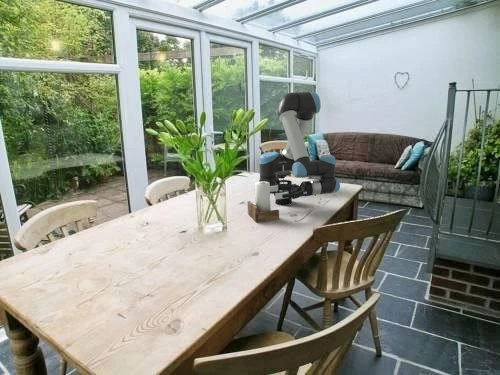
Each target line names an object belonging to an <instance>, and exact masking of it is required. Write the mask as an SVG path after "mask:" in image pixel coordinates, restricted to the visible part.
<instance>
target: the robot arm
mask: <svg viewBox="0 0 500 375" xmlns="http://www.w3.org/2000/svg"><path fill="white" fill-rule="evenodd" d="M320 110H321V99H320V96H319V94H318V93H317V92H315V91H302V92H301V91H300V92H299V91H297V92H287V93H286V94H285V95H283V96H282V98H281V99H280V100H279V102H278V106H277V116H278V119H279V122H282V126H283V129H284V132H285V135H286V139H287V141H286V142H287V143H286V147H284V148H283V149H282V152H281V153H279V152H277V151H269V152H263V153H262V154H260V155H259V161H258V164H259V180H258V182H262V181H265V182H269V183H270V194H272V193H273V194H274V191H279V190H282V191H289V192H284V193H276V194H275V196H274V200H275V199H284V198H292V200H295V199H298V198H300V197H301V198H302V197H310V196H314V197H316V196H317V195H325V194H334V193H337V192H338V191H340V188H341V182H340V180H339V178H337V177H336V157H335V156H334V155H332V154H331V155H330V154H324V155H320V156H319V159H318V160H311V159H310V155H309V153H308V149H307V147H306V144H305V141H304V140H305V135H306V131H307V128H308V125H309V122H310V121H311V120H313V118H314V115H317V114H318V113H320ZM279 162H287V163H284V171H287V172H291V173H292V175H293V176H294V177H295V178H296V179H298V178H299V179H300V178H301V179H303V178H304V179H305V178H309V177H310V178H311V177H317V176H319V179H311V180H306V181H304V180H303V181H301V182H300V185H299V184H297V183H292V184H287V183H284V184H283V183H281V182H280V183H279V184H277V186H274V181H275V180H277V181H278V180H280V178H276V174H275V173H276V172H280V171H283V166H282V163H279Z"/></svg>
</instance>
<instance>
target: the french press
mask: <svg viewBox="0 0 500 375" xmlns="http://www.w3.org/2000/svg"><path fill="white" fill-rule="evenodd" d="M279 163H282V166H283V171H280V172H276V173H275V174H276V178H279V180H278V181H277V180H275V181H274V186H277V184H279V183H280V184H281V183H282V184H285V183H286V184H293V181H292V180H289V179H288V180H287V179H285V178H286V177H287V176H288V177H291V176H292V175H293V172H292V171H290V172H287V171H284V163H287V162H279ZM284 192H289V191H282V190H279V191H274V193H273V196H274V197H275V194H276V193H284ZM274 203H275V204H276V205H277V206H289V205H290V206H291V205H292V204H293V199H292V198H284V199H275V198H274Z"/></svg>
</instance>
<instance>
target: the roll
mask: <svg viewBox="0 0 500 375" xmlns="http://www.w3.org/2000/svg"><path fill="white" fill-rule="evenodd" d="M254 195H255V205H256V207H257V208H258V212H264V211H270V210H271V193H270V183H269V182H265V181H262V182H259V181H256V182H255V183H254Z"/></svg>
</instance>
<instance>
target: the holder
mask: <svg viewBox="0 0 500 375" xmlns="http://www.w3.org/2000/svg"><path fill="white" fill-rule="evenodd" d="M247 214H248V216H249V218H251V219H252V220H253V222H255V223H262V222H268V221H276V220H279V219H280V210H279V209H273V210H271V209H270V211H264V212H258V208H257V207H256V204H254V203H253V202H252V201H250V200H247Z"/></svg>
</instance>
